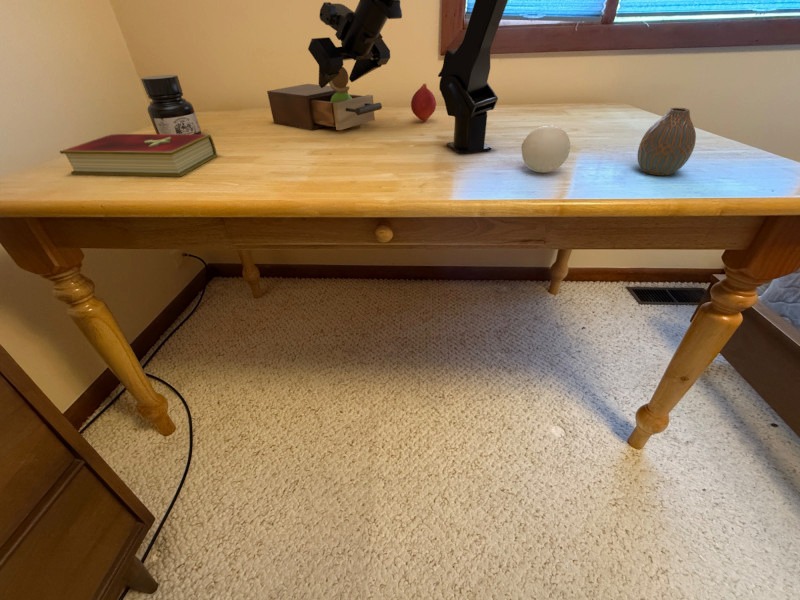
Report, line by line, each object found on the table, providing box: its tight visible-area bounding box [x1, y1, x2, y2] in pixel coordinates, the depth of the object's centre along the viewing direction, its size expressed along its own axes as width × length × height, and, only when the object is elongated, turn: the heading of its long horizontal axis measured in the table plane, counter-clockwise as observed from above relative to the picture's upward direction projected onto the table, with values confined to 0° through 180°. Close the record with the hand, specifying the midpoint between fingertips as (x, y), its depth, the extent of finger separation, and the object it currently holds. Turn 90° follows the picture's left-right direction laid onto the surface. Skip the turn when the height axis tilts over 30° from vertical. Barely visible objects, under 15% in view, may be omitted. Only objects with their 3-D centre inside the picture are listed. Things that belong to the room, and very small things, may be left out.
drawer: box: [310, 93, 383, 131], centre depth 87 cm, size 18×11×5 cm, turn 51°
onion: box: [410, 83, 437, 122], centre depth 89 cm, size 6×6×8 cm
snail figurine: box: [328, 66, 352, 103], centre depth 84 cm, size 5×6×12 cm
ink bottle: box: [140, 74, 202, 135], centre depth 82 cm, size 10×9×12 cm
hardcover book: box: [59, 133, 218, 178], centre depth 69 cm, size 12×21×4 cm, turn 82°
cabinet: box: [266, 83, 349, 131], centre depth 93 cm, size 15×13×7 cm
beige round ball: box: [521, 125, 571, 174], centre depth 59 cm, size 7×7×7 cm
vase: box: [637, 107, 697, 176], centre depth 56 cm, size 7×7×9 cm
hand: (336, 83), depth 85 cm, fingers open, 9 cm apart
